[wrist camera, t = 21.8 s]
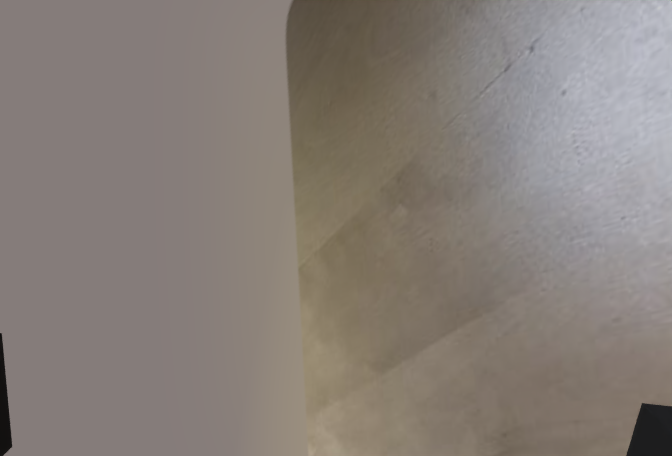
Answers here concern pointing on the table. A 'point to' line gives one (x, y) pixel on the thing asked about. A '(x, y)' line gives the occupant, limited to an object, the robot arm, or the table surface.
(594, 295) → the table surface
